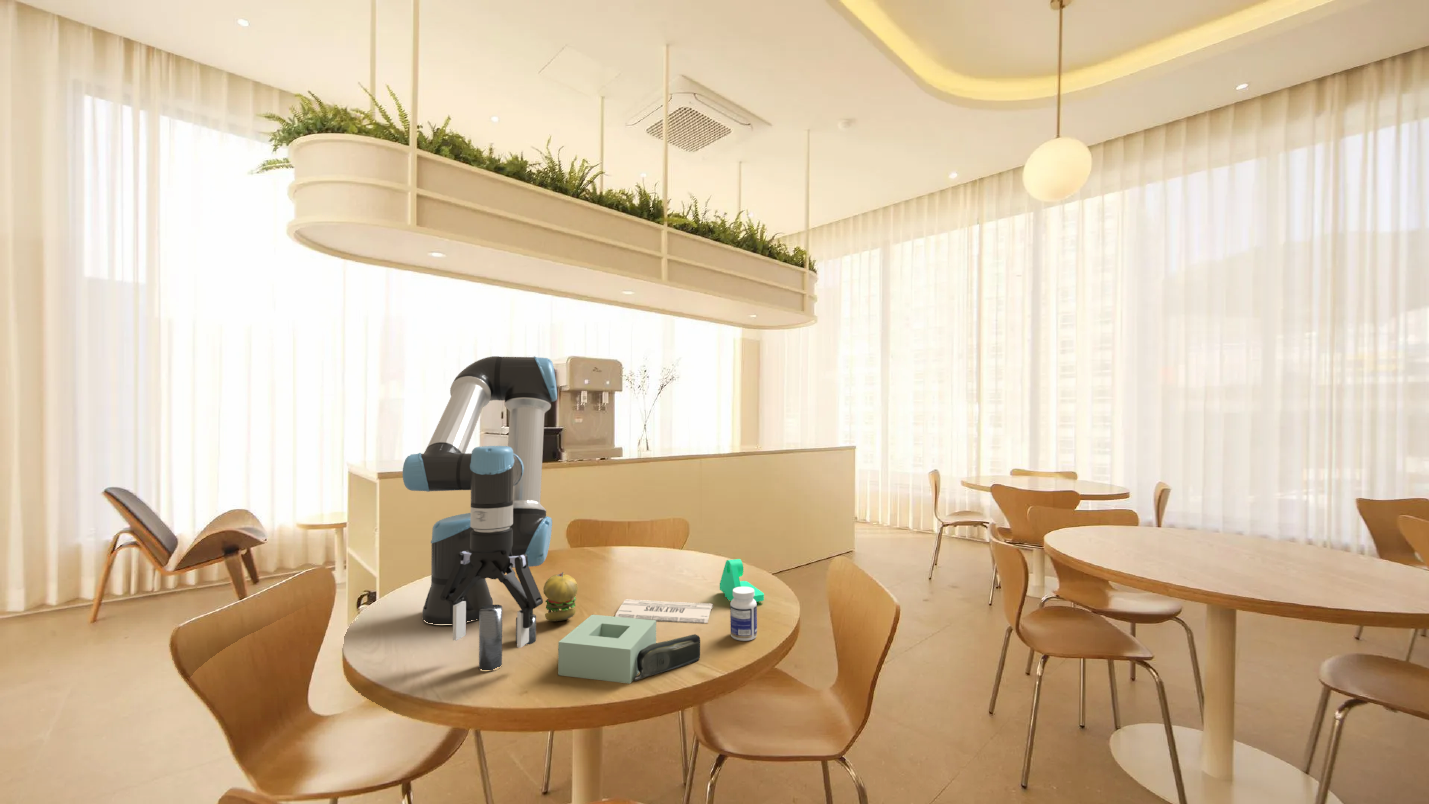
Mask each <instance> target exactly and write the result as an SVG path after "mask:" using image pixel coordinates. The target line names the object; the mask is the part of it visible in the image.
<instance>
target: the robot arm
mask: <svg viewBox="0 0 1429 804" xmlns="http://www.w3.org/2000/svg"><path fill="white" fill-rule="evenodd" d="M556 380H557V379H556V373H555V367H554V364H553V361H552V360H551V359H550V358H548V357H538V356H498V355H497V356H487V357H484V358H481V359H479V360H476V361H474V362H473V363H470V365H468V366H466V367H464V369H462V370H461V371H460V372H459V373H458V375H456V377H455V378H454V379H453V382H452V384H451V386H450V388H449V389H450V390H449V394H450V399H449V400H448V402H447V404H446V406H445V409H444V411H443V412H442V415H441V418H440V419H439V421H438V423H437V425H436V428H435V430H434V432H433V433H432V437H431V438H430V441H429V442H428V444H427V447H426V448H425V450H424V452H423V453H422V452H419V453H413V454H410V455H407V457H406V458H405V459H404V462H403V466H402V480H403V485H404V487H405V488H406V489H407V490H409V491H414V492H415V491H416V492H427V493H428V492H444V491H445V492H447V491H451V492H452V491H470V512H467V513H461V514H457V515H452V516H448V517H445V518H442V519H439V520H438V521H436V522H435V523H434V524H433V525H432V533H431V540H430V544H431V561H430V562H431V574H430V575H431V577H430V579H431V582H430V583H431V584H430V587H429V590H428V593H427V596H426V599H425V602H424V605H423V607H422V616H421V617H422V618H423V620H425V621H426V622H428V623H433V624H453V625H452V641H456V642H457V641H458V640H460V639H462V638H463V637H465V636H466V635H467V634H466V633H467V630H466V627H467V623H466V622H467V621H471V620H476V619H479V614H480V608H482V607H484V606H487V605H494V604H493V603H494V602H493V597H492V596H491V595H492V594H491V592H490V588H489V585H488V583H487V580H486V579H490V580H498V581H499V583H501V584H503V585H504V586H505V588H506V589H507V591H508V592H509V593H510V595H511V597H512V598H513V599H514V601H515V602H516V604H517V605H518V607H519V608H520V609H519V610H518V611H517V615H516V617H517V644H516V648H520V649H521V648H523V647H524V646H526V645H525V644H527V643H528V642H529V627H530V626H532V624H533V614H534V609H536V608H537V607H539V606H541V605H542V604H543V603H544V599H543V598H542V595H541V593H540V589H539V588H538V585H537V582H536V581H535V578H534V576H533V573H532V571H531V569H530V567H539V566H541V565H543V563H544V562H545V561H546V559H547V557H548V553H549V548H550V543H551V540H552V527H553V518H552V517H550V516H547V509H546V508H545V507H544V506H543V505H542V504H541V496H542V495H541V493H542V475H543V474H542V473H543V471H542V470H543V456H544V455H543V451H544V432H545V414H546V413H547V412H548V411H549V410H551V408H552V402H555V401H558V388H557V387H558V386H557V381H556ZM490 401H491V402H492V401H504V402H503V403H504V407H505V408H506V409H507V411H509V421H508V422H509V424H508V434H507V435H508V438H507V445H482V446H476V447H474V448H473V449H472V450H471V453H470V452H469V453H466V452H467V448H468V447H469V444H470V441H471V439H472V436H473V434H474V432H475V429H476V426H477V423H478V421H479V417H480V415H481V413H482V410H483V409H484V408H485V407H486V406H487V405H489V403H490ZM514 568H515V569H514ZM514 570H515V571H514ZM516 575H517V576H516ZM422 618H421V619H422ZM423 620H422V621H423ZM476 621H477V620H476Z"/></svg>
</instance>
